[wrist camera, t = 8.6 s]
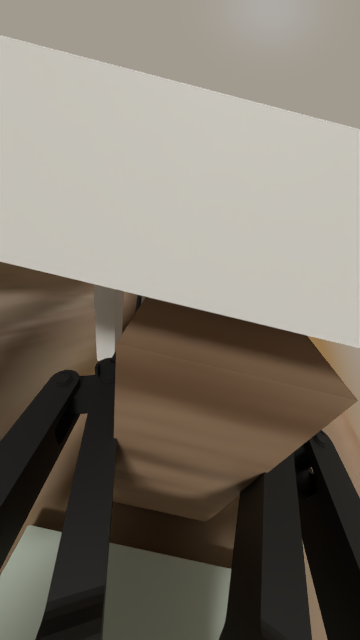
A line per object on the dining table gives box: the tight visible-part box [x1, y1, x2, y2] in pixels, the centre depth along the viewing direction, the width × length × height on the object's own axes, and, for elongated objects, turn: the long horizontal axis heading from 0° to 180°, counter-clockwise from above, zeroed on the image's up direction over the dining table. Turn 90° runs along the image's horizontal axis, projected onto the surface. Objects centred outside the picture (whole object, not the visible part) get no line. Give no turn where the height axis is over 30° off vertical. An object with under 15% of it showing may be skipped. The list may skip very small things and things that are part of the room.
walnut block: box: [113, 297, 357, 522], centre depth 12 cm, size 9×6×13 cm, turn 174°
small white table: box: [0, 35, 360, 361], centre depth 12 cm, size 14×20×18 cm
